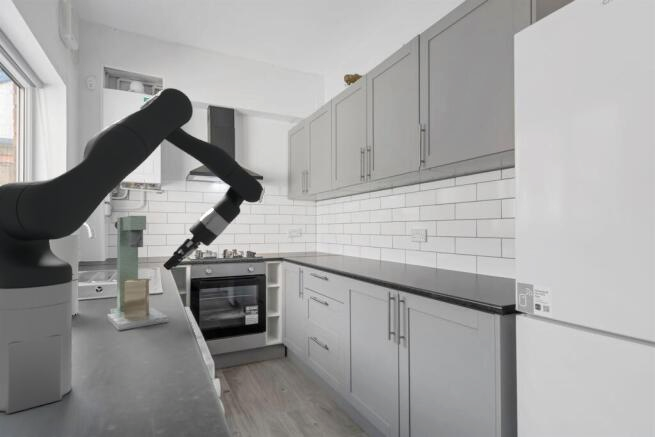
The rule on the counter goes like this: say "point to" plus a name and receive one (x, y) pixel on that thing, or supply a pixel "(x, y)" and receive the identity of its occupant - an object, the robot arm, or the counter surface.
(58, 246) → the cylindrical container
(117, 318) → the press
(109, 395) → the counter surface
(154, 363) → the counter surface
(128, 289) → the block
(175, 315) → the counter surface
